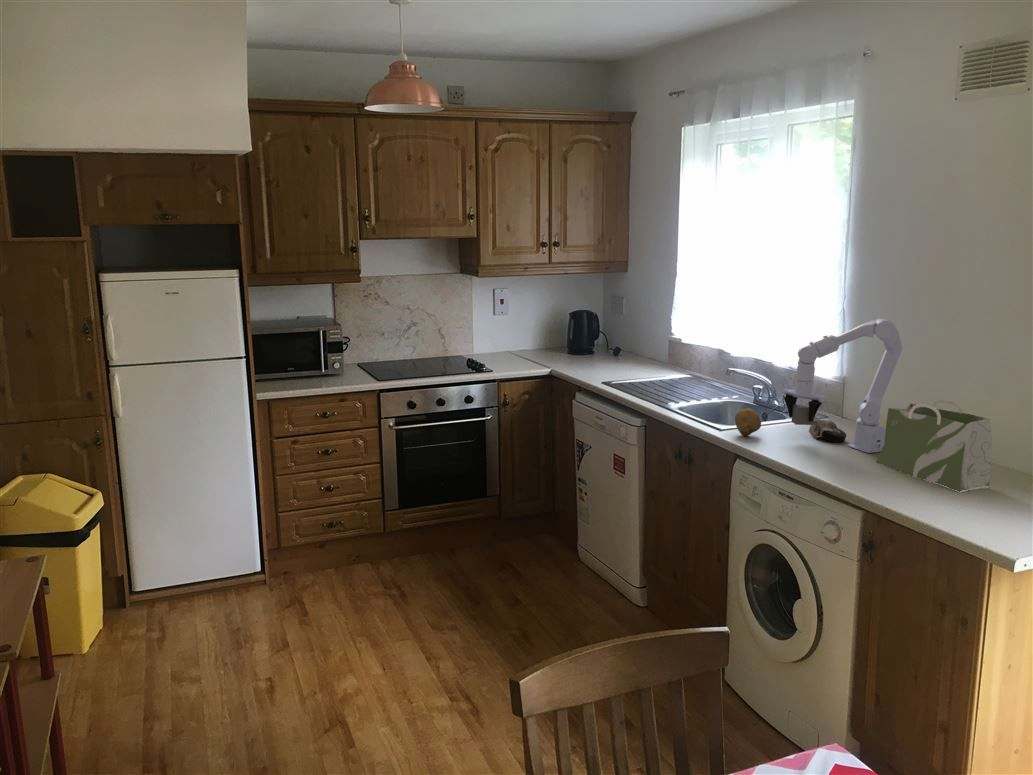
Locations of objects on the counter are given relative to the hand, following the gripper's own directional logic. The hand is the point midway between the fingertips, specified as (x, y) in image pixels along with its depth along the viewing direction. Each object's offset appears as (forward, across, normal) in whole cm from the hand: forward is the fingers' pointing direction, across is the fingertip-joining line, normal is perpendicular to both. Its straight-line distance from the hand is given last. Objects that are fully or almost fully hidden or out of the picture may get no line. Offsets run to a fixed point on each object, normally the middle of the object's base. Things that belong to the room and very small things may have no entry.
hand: (801, 419), depth 298 cm
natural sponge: (+8, +16, +7) cm, 20 cm away
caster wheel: (+9, -4, -12) cm, 16 cm away
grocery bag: (+8, -45, +3) cm, 46 cm away
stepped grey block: (+2, -1, -1) cm, 2 cm away
